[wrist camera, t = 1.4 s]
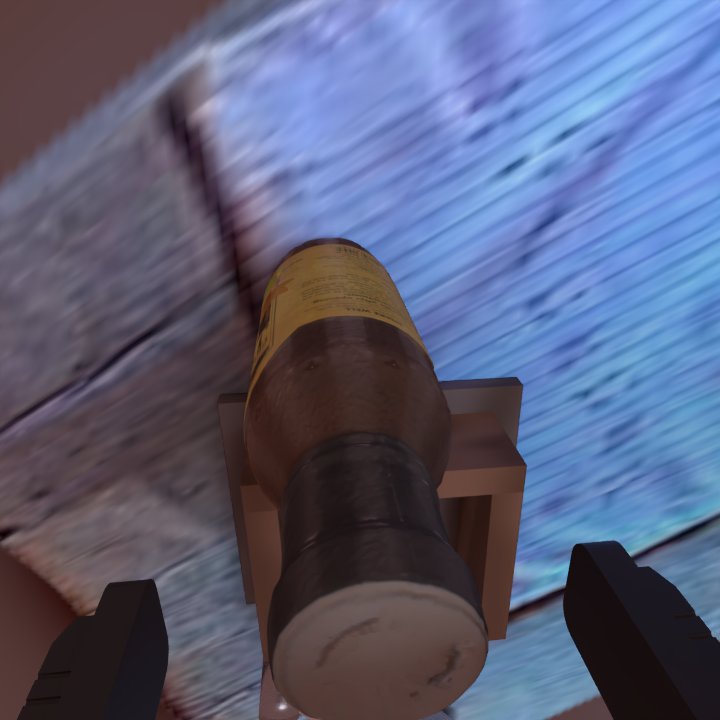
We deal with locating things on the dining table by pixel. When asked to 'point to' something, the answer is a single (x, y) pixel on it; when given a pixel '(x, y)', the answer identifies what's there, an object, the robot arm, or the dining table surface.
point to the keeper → (280, 715)
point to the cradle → (456, 492)
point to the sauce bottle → (357, 496)
